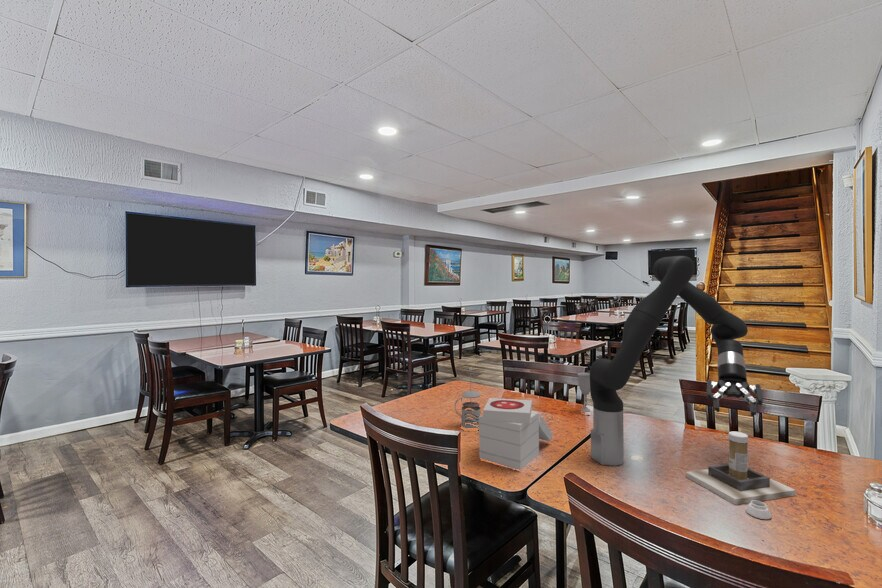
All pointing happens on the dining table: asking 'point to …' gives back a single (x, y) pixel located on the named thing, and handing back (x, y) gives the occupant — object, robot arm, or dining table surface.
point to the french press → (470, 405)
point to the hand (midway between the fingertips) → (734, 412)
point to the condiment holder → (739, 485)
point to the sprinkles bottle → (738, 455)
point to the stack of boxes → (511, 432)
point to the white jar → (758, 510)
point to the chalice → (584, 388)
